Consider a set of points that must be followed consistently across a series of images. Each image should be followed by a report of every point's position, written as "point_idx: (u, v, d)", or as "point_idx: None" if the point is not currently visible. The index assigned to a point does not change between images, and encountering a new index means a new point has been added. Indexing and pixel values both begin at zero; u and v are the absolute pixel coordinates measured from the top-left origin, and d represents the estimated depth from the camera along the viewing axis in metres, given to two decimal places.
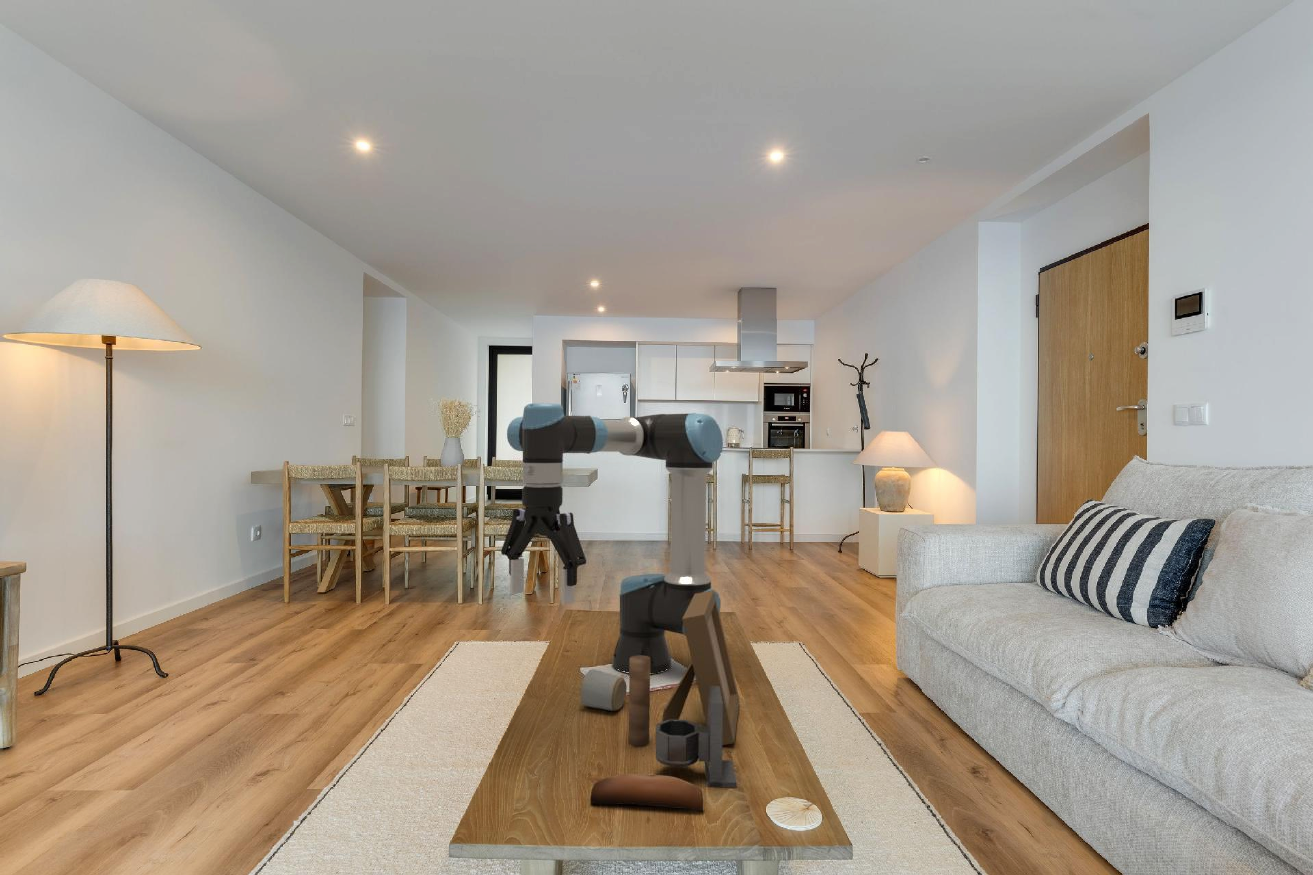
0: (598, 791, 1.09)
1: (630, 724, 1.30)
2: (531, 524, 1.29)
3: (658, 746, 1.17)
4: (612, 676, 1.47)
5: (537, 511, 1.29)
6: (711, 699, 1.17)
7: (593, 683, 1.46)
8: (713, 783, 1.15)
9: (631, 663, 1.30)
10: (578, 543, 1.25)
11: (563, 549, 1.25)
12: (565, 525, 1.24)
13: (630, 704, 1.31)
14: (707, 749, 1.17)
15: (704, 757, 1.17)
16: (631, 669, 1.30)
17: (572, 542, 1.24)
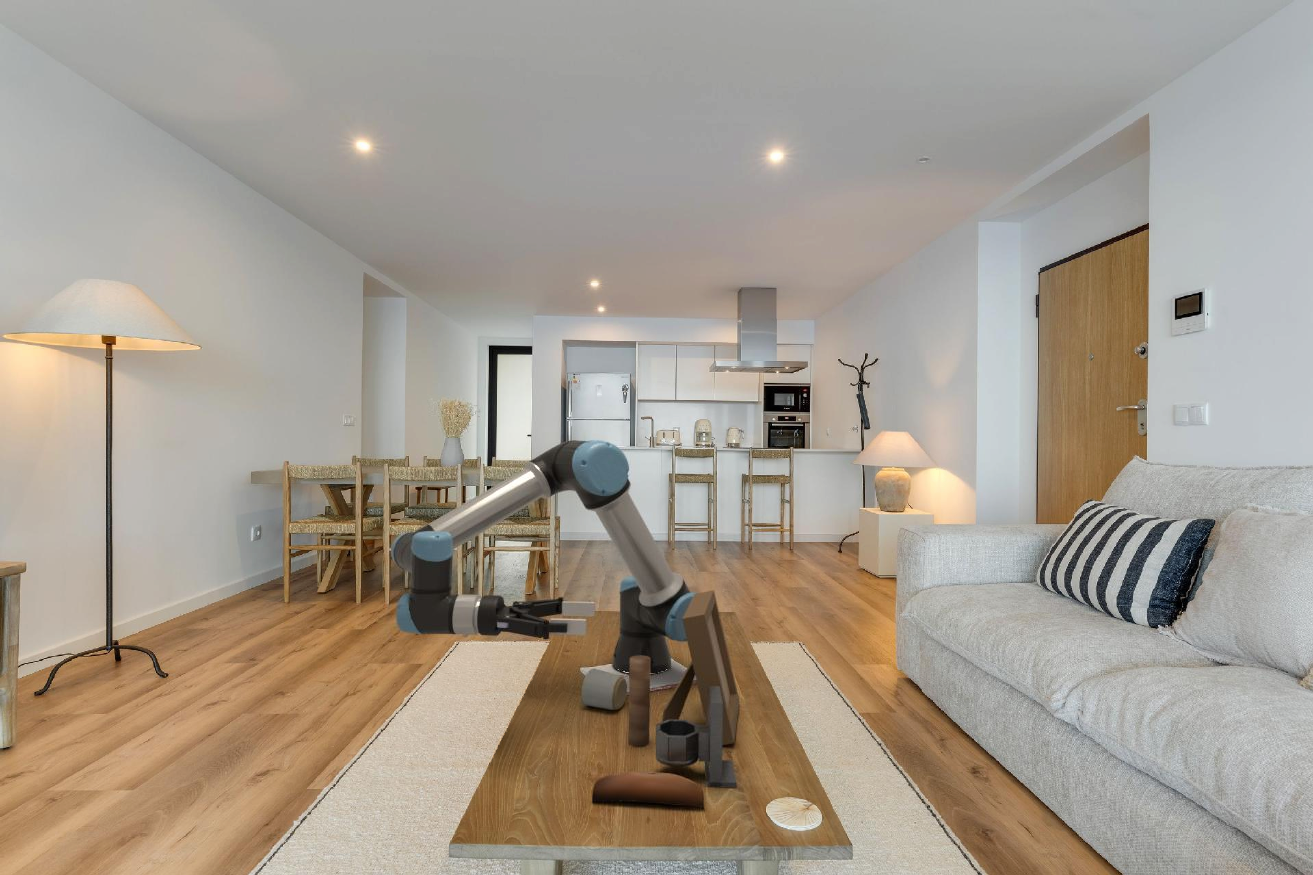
0: (600, 788, 1.09)
1: (630, 724, 1.30)
2: None
3: (658, 746, 1.17)
4: (613, 675, 1.48)
5: None
6: (711, 699, 1.17)
7: (594, 682, 1.46)
8: (713, 783, 1.15)
9: (631, 663, 1.30)
10: (524, 624, 1.23)
11: None
12: (508, 630, 1.25)
13: (630, 704, 1.31)
14: (707, 749, 1.17)
15: (704, 757, 1.17)
16: (631, 669, 1.30)
17: (522, 632, 1.24)
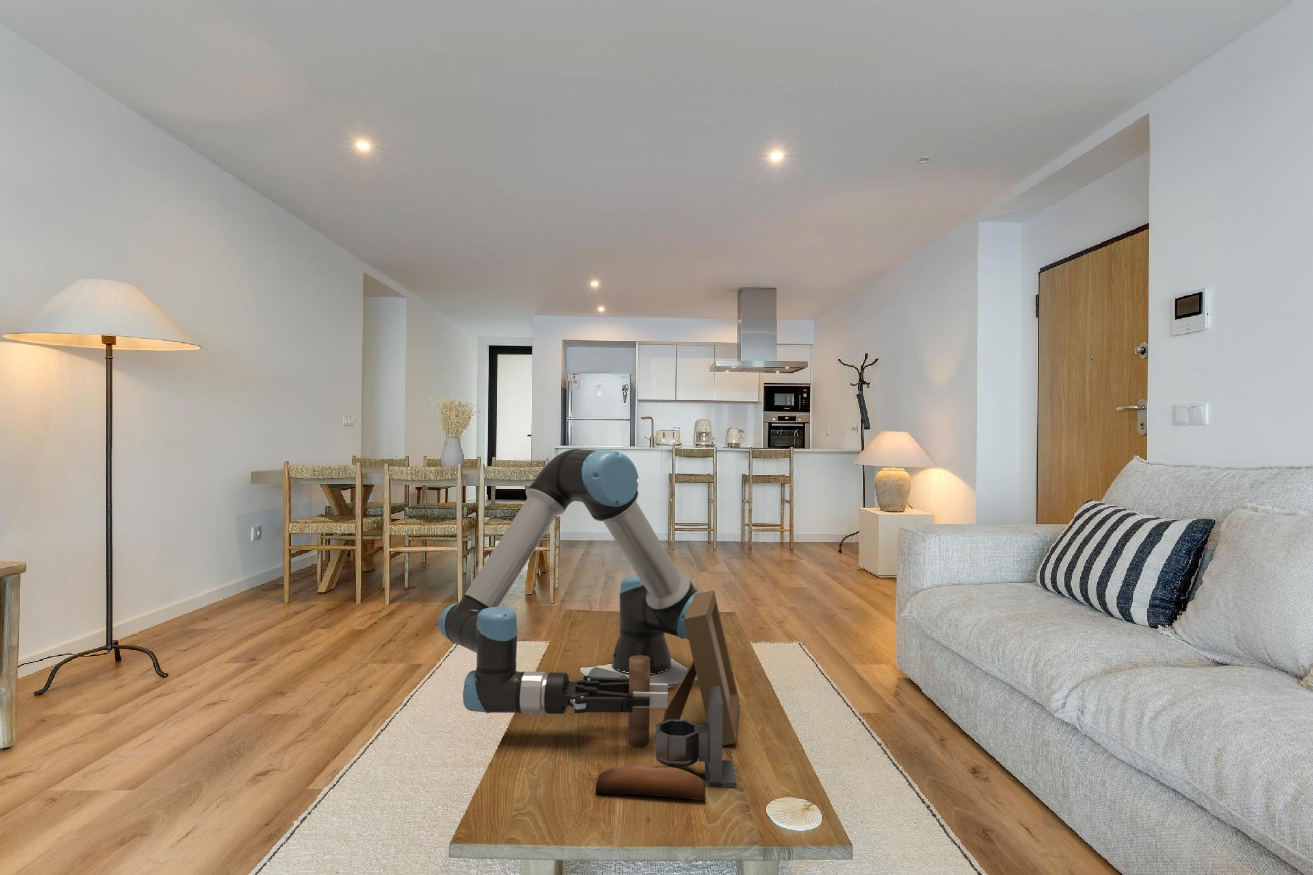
0: (603, 781, 1.12)
1: (630, 724, 1.30)
2: None
3: (658, 746, 1.17)
4: (615, 674, 1.49)
5: None
6: (711, 699, 1.17)
7: None
8: (713, 783, 1.15)
9: (631, 663, 1.30)
10: (607, 701, 1.26)
11: None
12: (587, 710, 1.26)
13: None
14: (707, 749, 1.17)
15: (704, 757, 1.17)
16: (631, 669, 1.30)
17: (605, 710, 1.26)
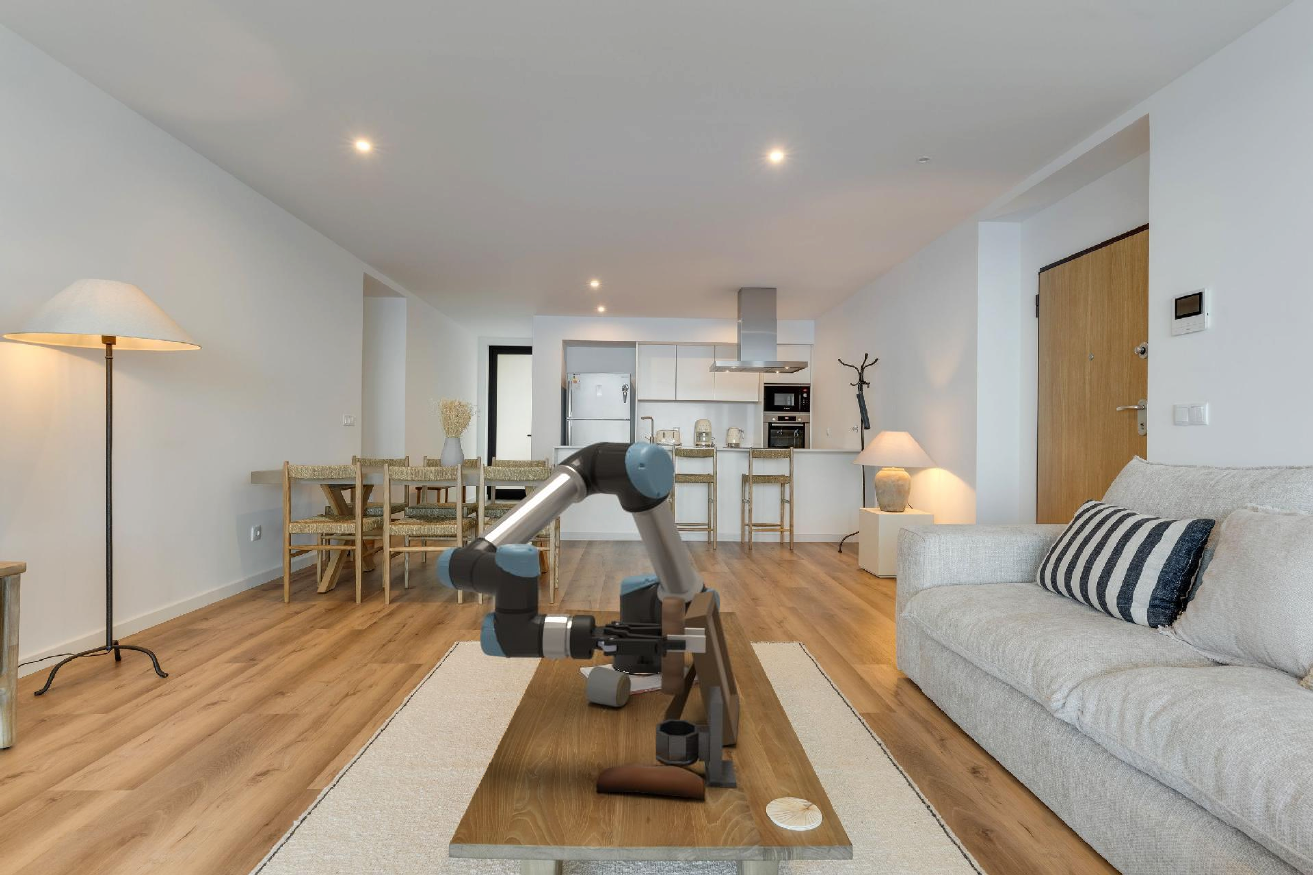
0: (604, 779, 1.12)
1: (663, 671, 1.18)
2: None
3: (658, 746, 1.17)
4: (616, 673, 1.49)
5: None
6: (711, 699, 1.17)
7: (598, 679, 1.48)
8: (713, 783, 1.15)
9: (664, 604, 1.18)
10: (639, 643, 1.14)
11: None
12: (617, 653, 1.14)
13: None
14: (707, 749, 1.17)
15: (704, 757, 1.17)
16: (664, 610, 1.18)
17: (637, 653, 1.14)
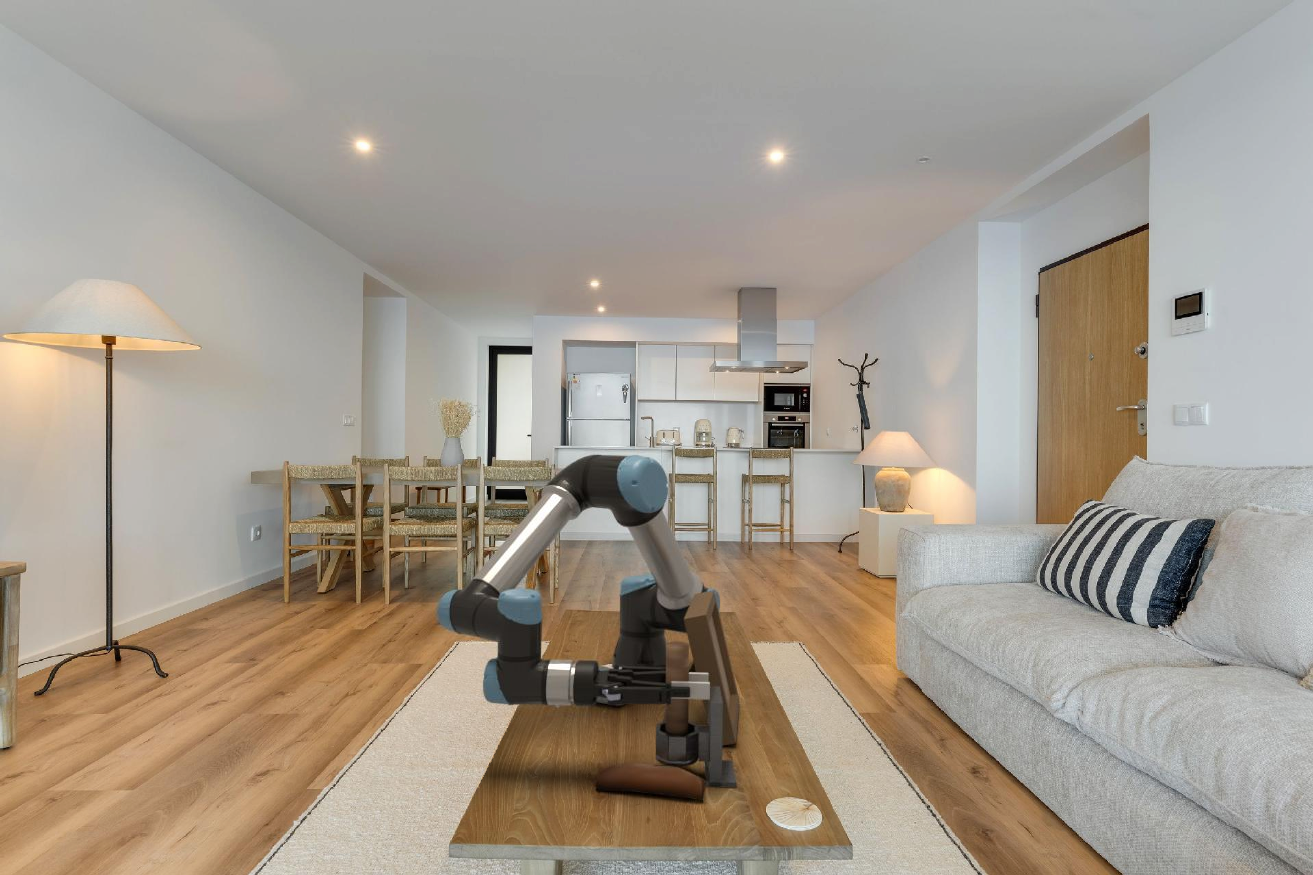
0: (603, 778, 1.13)
1: (667, 717, 1.18)
2: None
3: (658, 746, 1.17)
4: None
5: None
6: (711, 699, 1.17)
7: None
8: (713, 783, 1.15)
9: (668, 650, 1.18)
10: (644, 692, 1.13)
11: None
12: (621, 702, 1.13)
13: None
14: (707, 749, 1.17)
15: (704, 757, 1.17)
16: (668, 656, 1.18)
17: (642, 701, 1.13)
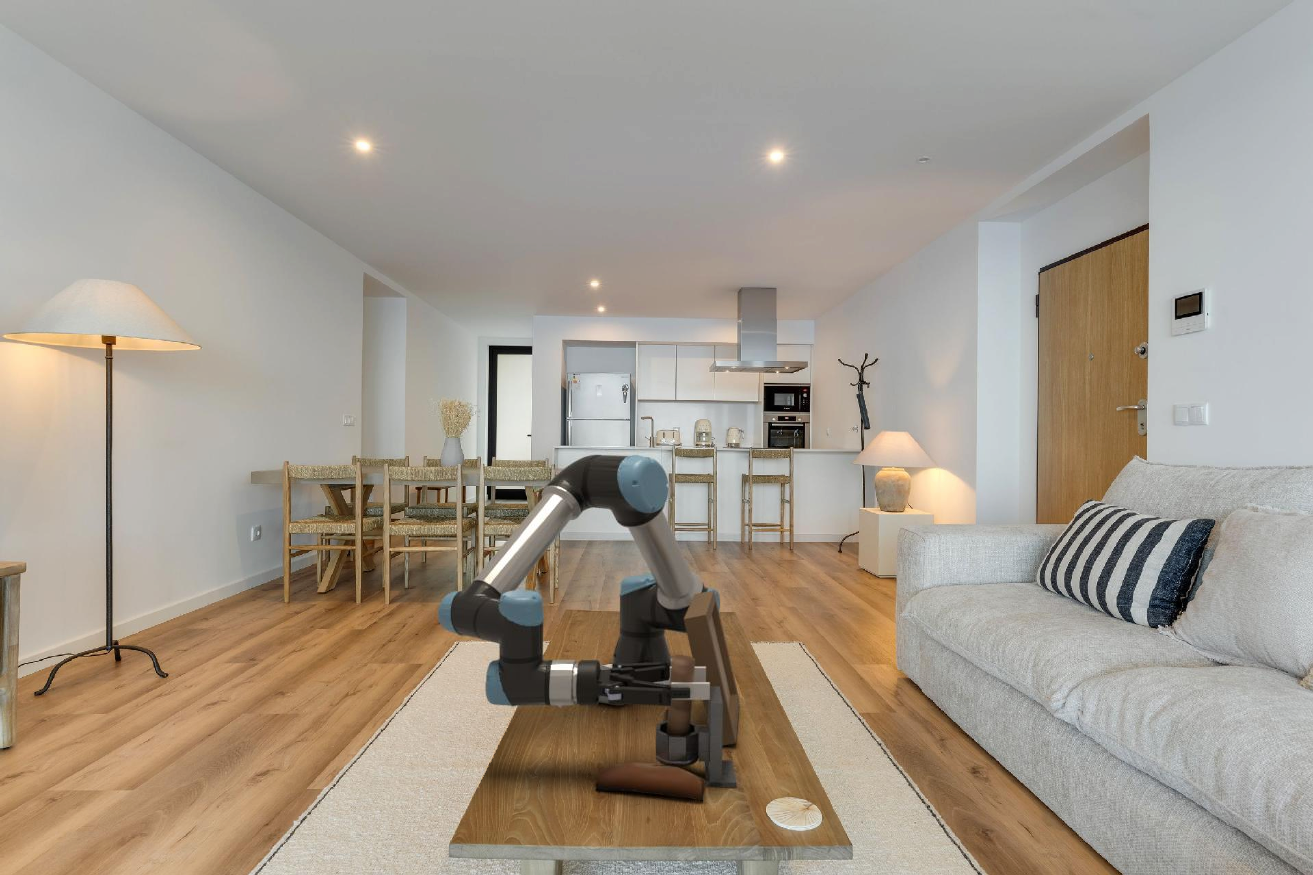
0: (603, 777, 1.13)
1: (669, 730, 1.18)
2: None
3: (658, 746, 1.17)
4: None
5: None
6: (711, 699, 1.17)
7: None
8: (713, 783, 1.15)
9: (674, 664, 1.17)
10: (644, 692, 1.13)
11: None
12: (622, 702, 1.14)
13: (670, 708, 1.18)
14: (707, 749, 1.17)
15: (704, 757, 1.17)
16: (674, 670, 1.18)
17: (642, 702, 1.13)
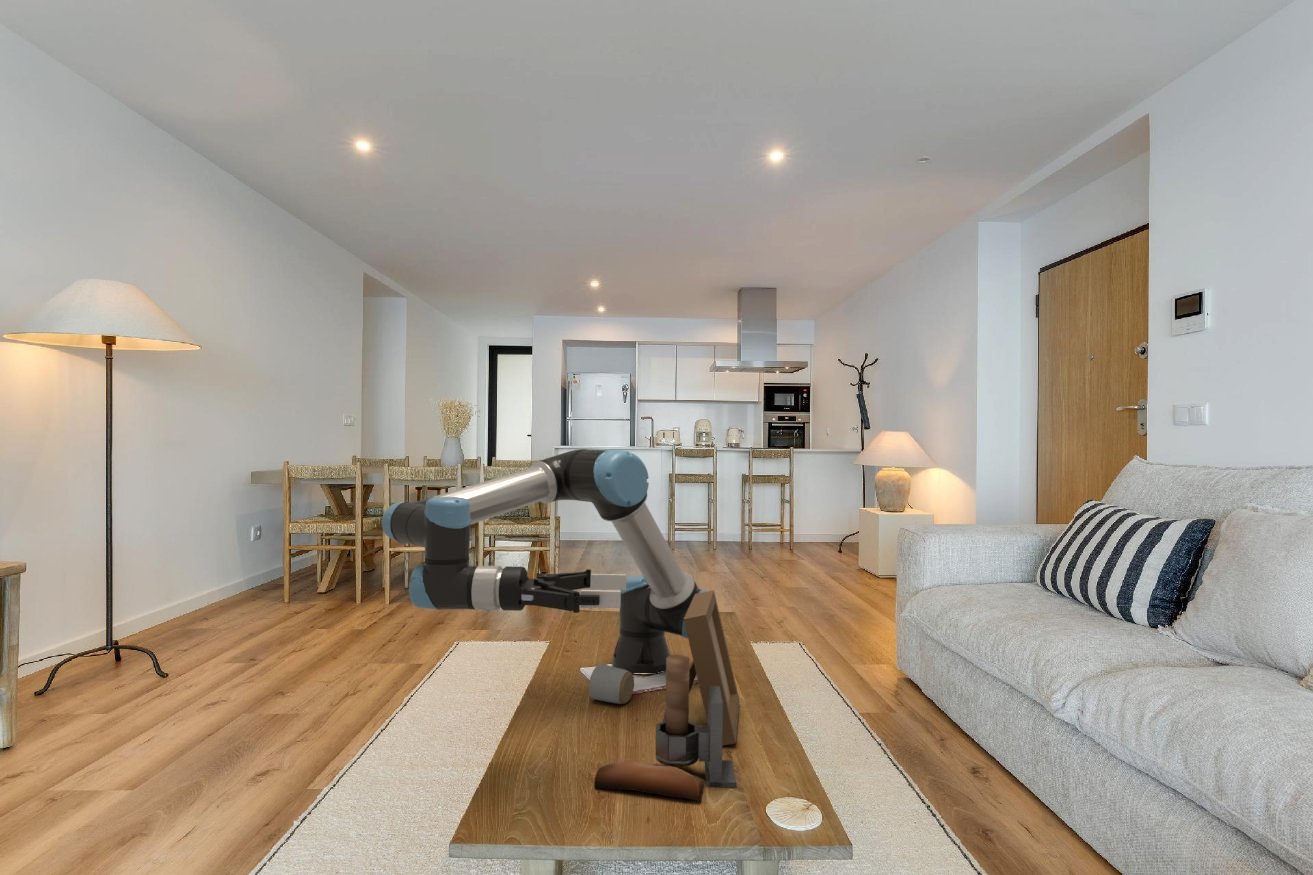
0: (602, 775, 1.14)
1: (667, 731, 1.18)
2: None
3: (658, 746, 1.17)
4: (620, 670, 1.51)
5: None
6: (711, 699, 1.17)
7: (601, 677, 1.50)
8: (713, 783, 1.15)
9: (668, 664, 1.18)
10: (551, 596, 1.11)
11: None
12: (533, 603, 1.13)
13: (667, 709, 1.18)
14: (707, 749, 1.17)
15: (704, 757, 1.17)
16: (668, 670, 1.18)
17: (550, 605, 1.11)
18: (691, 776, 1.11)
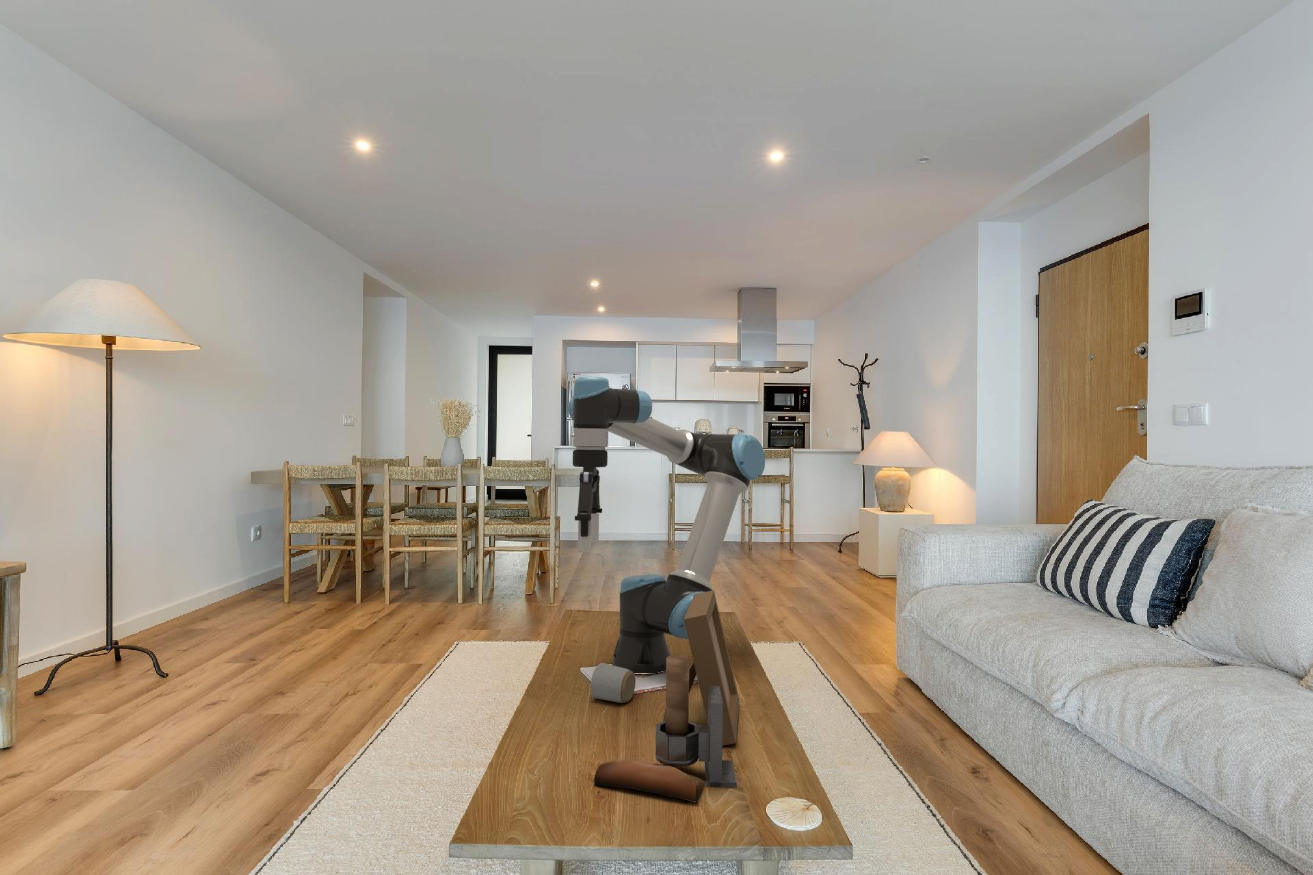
0: (601, 773, 1.14)
1: (667, 731, 1.18)
2: None
3: (658, 746, 1.17)
4: (621, 669, 1.52)
5: None
6: (711, 699, 1.17)
7: (603, 676, 1.51)
8: (713, 783, 1.15)
9: (668, 664, 1.18)
10: (588, 499, 1.39)
11: None
12: (581, 482, 1.41)
13: (667, 709, 1.18)
14: (707, 749, 1.17)
15: (704, 757, 1.17)
16: (668, 670, 1.18)
17: (580, 498, 1.39)
18: (688, 777, 1.11)
